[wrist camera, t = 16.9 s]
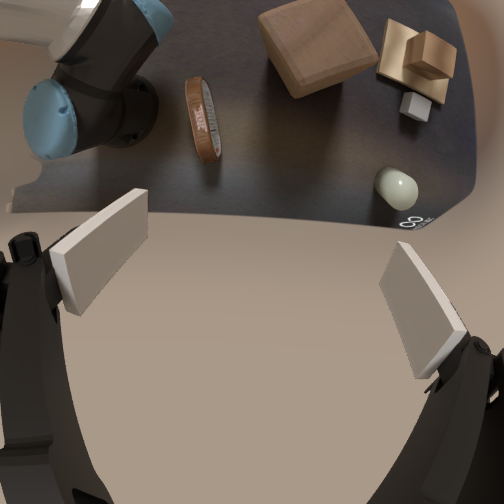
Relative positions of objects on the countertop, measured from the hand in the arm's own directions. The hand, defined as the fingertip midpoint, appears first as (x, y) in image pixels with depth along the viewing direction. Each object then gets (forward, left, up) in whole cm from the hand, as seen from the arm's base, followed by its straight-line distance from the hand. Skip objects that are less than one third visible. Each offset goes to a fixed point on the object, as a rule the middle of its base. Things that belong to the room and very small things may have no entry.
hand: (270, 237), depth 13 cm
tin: (-13, +3, -36) cm, 39 cm away
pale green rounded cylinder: (+21, 0, -36) cm, 41 cm away
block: (+1, +16, -36) cm, 39 cm away
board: (+20, +25, -36) cm, 48 cm away
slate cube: (+21, +15, -36) cm, 44 cm away
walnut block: (+20, +25, -34) cm, 47 cm away
